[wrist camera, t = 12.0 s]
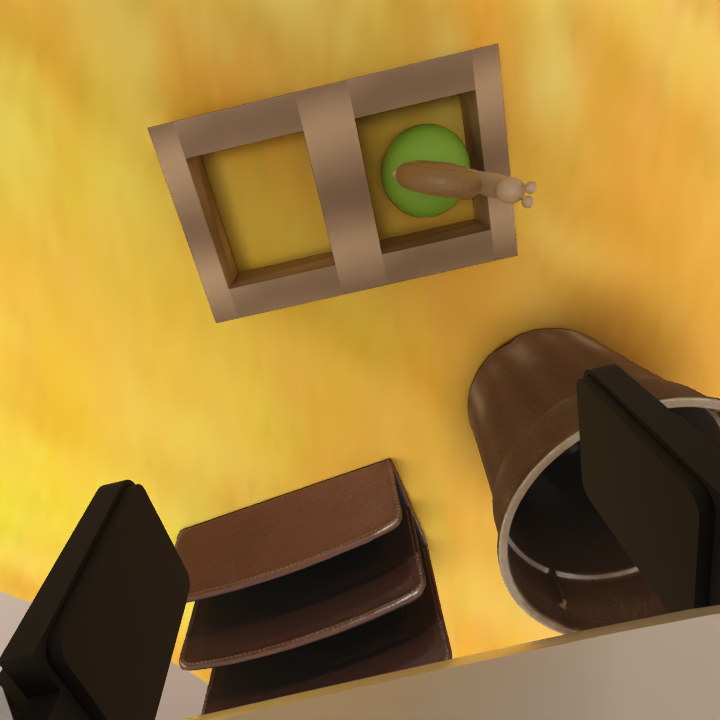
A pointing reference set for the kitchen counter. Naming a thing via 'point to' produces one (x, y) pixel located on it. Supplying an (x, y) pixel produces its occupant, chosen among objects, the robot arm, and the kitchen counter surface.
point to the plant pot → (560, 479)
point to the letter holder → (311, 591)
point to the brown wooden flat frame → (341, 185)
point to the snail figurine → (440, 174)
